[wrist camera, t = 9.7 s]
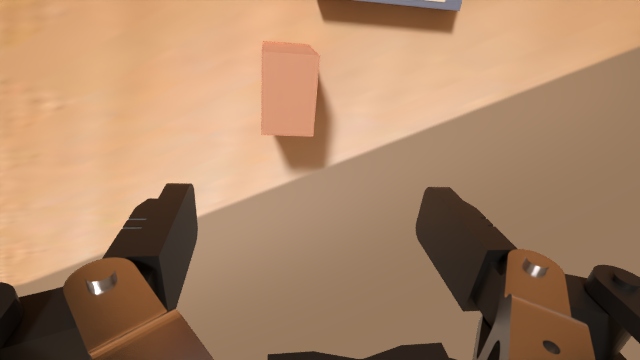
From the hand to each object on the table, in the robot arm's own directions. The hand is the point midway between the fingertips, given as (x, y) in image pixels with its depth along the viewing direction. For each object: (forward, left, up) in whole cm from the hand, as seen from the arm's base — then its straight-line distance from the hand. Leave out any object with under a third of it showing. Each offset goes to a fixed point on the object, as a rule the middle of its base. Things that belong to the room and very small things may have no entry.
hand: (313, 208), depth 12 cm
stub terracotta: (0, 0, -22) cm, 22 cm away
